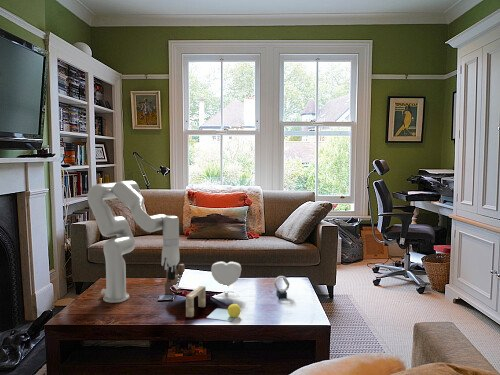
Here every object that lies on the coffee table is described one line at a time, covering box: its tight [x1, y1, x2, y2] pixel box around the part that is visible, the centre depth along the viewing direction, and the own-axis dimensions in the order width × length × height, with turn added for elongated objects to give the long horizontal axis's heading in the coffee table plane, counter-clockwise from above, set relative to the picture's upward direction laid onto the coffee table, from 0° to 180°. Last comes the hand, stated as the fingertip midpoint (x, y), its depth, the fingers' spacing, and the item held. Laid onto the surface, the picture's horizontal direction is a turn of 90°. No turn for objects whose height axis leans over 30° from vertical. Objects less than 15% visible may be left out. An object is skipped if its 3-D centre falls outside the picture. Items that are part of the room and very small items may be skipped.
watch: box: [273, 275, 290, 300], centre depth 209 cm, size 6×8×11 cm
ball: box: [227, 303, 242, 319], centre depth 182 cm, size 6×6×6 cm
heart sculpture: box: [210, 261, 242, 299], centre depth 210 cm, size 16×5×18 cm, turn 88°
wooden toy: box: [164, 263, 185, 295], centre depth 219 cm, size 16×7×25 cm, turn 173°
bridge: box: [185, 285, 207, 318], centre depth 189 cm, size 3×15×10 cm, turn 162°
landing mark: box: [206, 307, 235, 322], centre depth 185 cm, size 12×12×1 cm
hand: (171, 279), depth 193 cm, fingers closed
